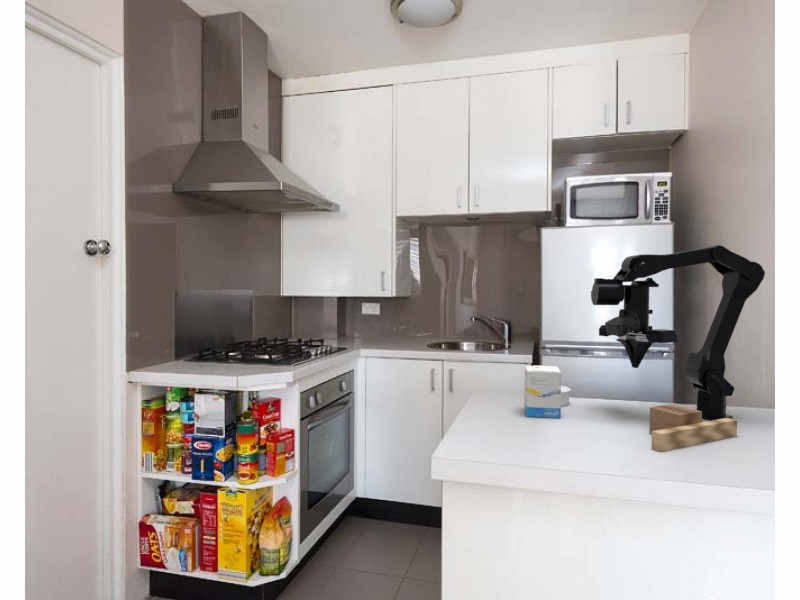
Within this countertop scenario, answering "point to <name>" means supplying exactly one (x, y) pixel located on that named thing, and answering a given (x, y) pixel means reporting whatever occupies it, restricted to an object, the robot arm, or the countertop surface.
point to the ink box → (542, 391)
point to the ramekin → (564, 395)
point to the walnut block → (672, 417)
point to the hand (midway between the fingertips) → (635, 367)
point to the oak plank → (693, 434)
